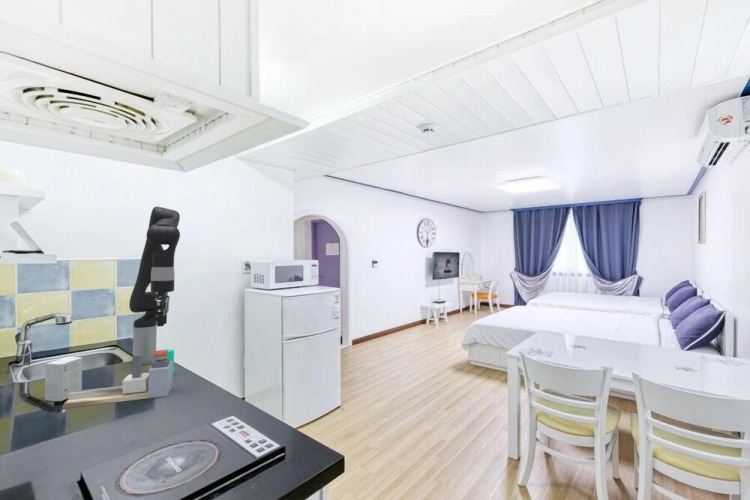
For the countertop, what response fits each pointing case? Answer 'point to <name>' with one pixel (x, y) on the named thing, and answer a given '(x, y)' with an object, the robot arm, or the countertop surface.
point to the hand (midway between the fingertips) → (161, 324)
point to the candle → (171, 356)
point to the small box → (62, 378)
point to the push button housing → (160, 378)
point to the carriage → (136, 377)
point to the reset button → (161, 354)
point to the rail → (101, 396)
